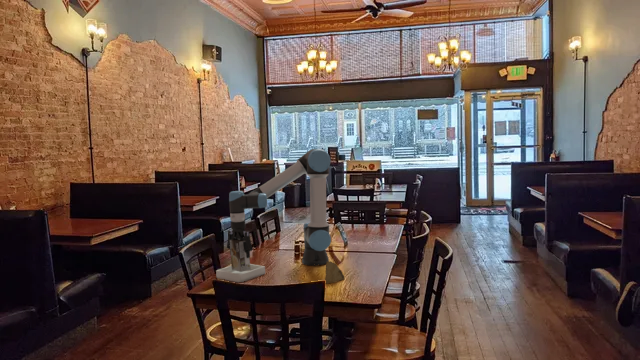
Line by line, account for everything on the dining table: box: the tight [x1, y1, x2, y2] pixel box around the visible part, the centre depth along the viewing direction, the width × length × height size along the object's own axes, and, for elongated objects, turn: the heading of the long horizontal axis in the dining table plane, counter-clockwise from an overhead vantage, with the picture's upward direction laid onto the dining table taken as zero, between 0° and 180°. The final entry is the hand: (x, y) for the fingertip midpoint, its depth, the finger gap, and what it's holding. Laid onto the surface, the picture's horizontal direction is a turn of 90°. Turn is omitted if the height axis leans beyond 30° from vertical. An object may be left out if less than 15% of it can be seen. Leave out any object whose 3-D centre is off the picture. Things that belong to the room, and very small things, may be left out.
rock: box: [324, 260, 345, 285], centre depth 233 cm, size 11×9×10 cm
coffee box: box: [229, 239, 251, 272], centre depth 249 cm, size 9×6×16 cm
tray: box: [215, 263, 266, 283], centre depth 250 cm, size 18×18×4 cm
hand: (240, 262), depth 250 cm, fingers closed on coffee box, 9 cm apart
